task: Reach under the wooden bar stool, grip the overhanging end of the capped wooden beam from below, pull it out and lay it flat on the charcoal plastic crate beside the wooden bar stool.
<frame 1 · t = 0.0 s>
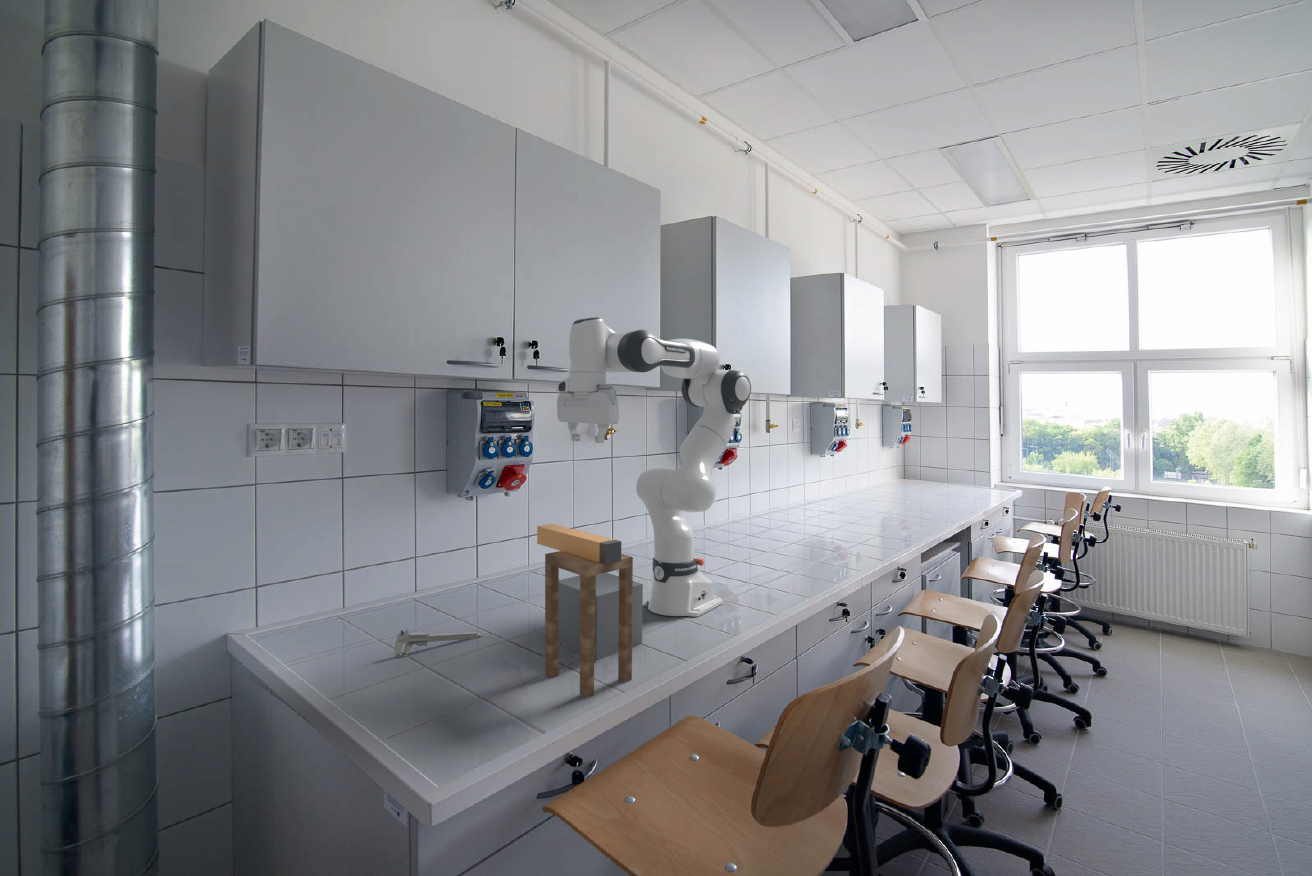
hand: (587, 442, 153), 48 cm above the lab bench, tool pointing down, fingers open, 8 cm apart
wooden bar stool: (588, 677, 133), on the lab bench
caliper: (440, 648, 149), on the lab bench
crate: (598, 641, 153), on the lab bench
capped wooden beam: (577, 551, 134), point 26 cm above the lab bench, touching wooden bar stool
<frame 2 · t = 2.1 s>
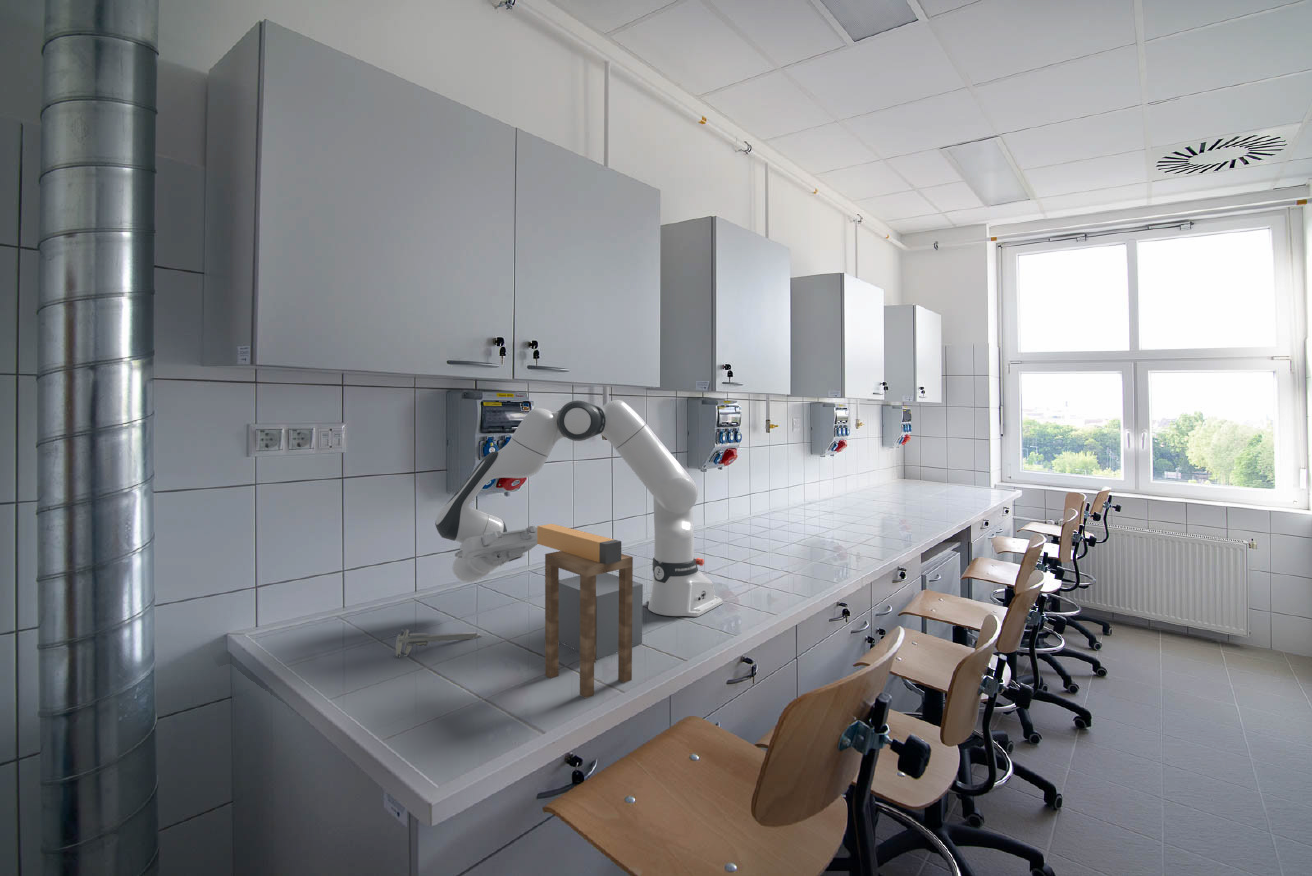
hand: (516, 531, 151), 27 cm above the lab bench, tool pointing upward, fingers open, 8 cm apart
nothing on the lab bench moved.
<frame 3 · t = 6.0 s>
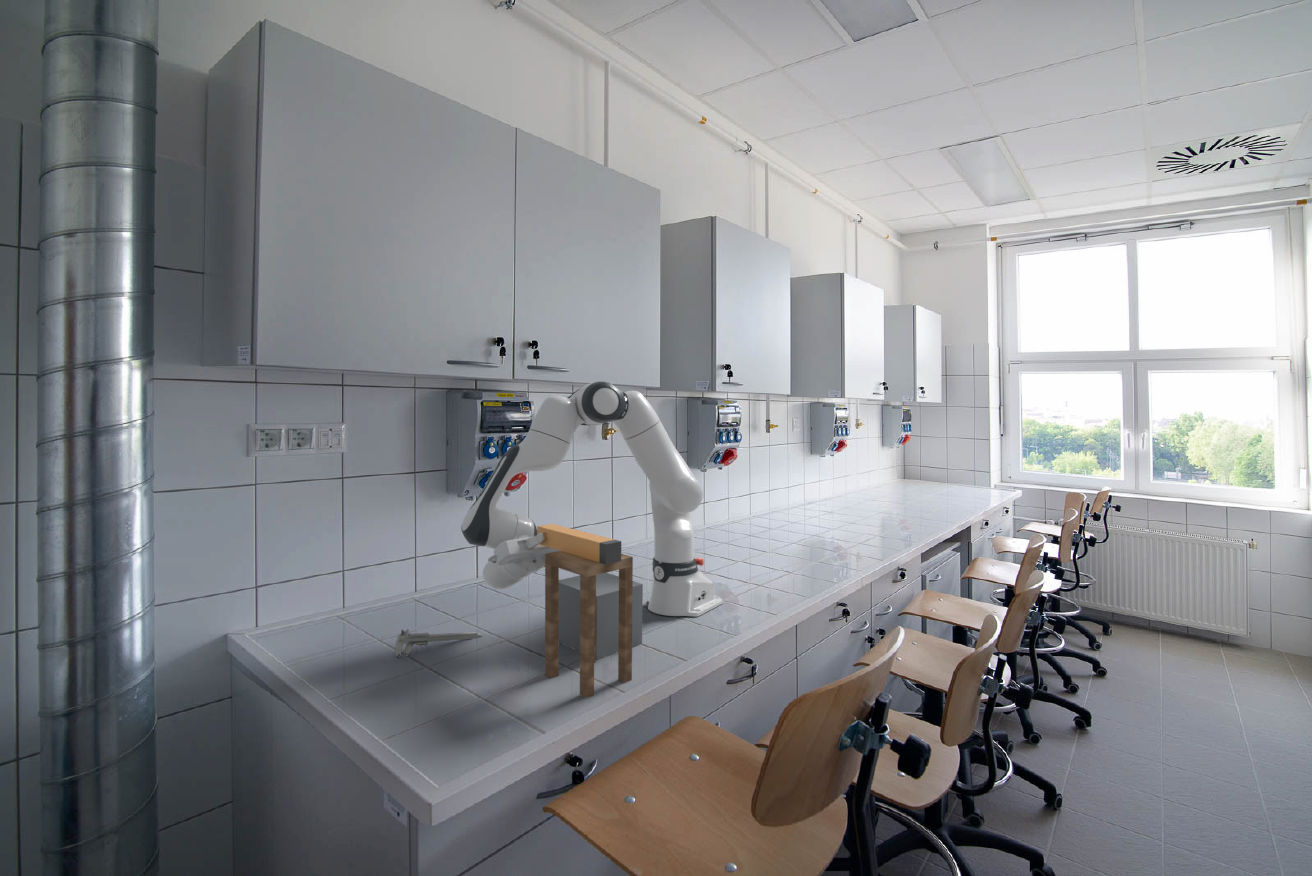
hand: (554, 534, 140), 28 cm above the lab bench, tool pointing upward, fingers closed on capped wooden beam, 4 cm apart
capped wooden beam: (577, 551, 134), point 26 cm above the lab bench, touching gripper, wooden bar stool
everything else where it was.
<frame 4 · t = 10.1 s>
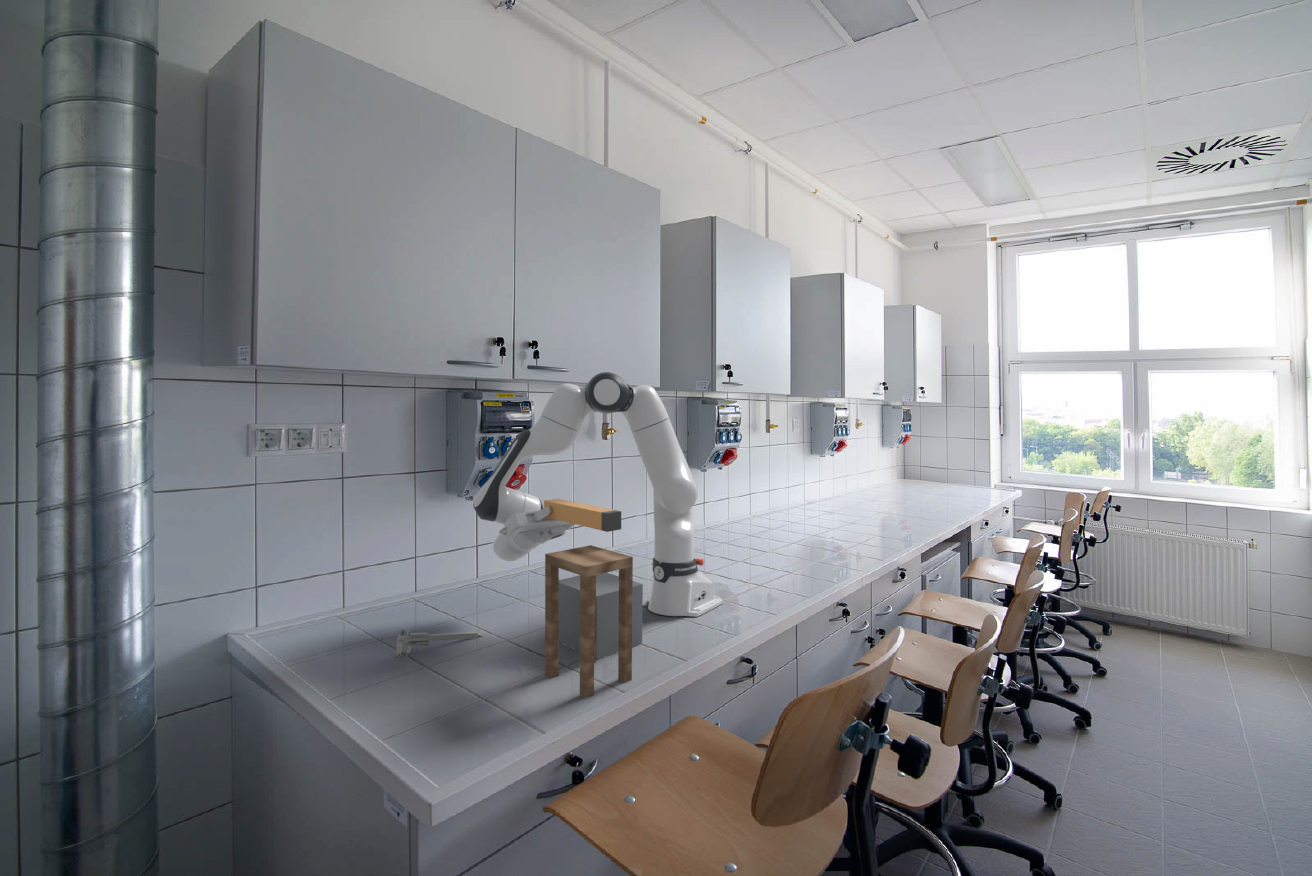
hand: (560, 507, 153), 32 cm above the lab bench, tool pointing upward, fingers closed on capped wooden beam, 4 cm apart
capped wooden beam: (580, 522, 147), point 30 cm above the lab bench, touching gripper
everything else where it was.
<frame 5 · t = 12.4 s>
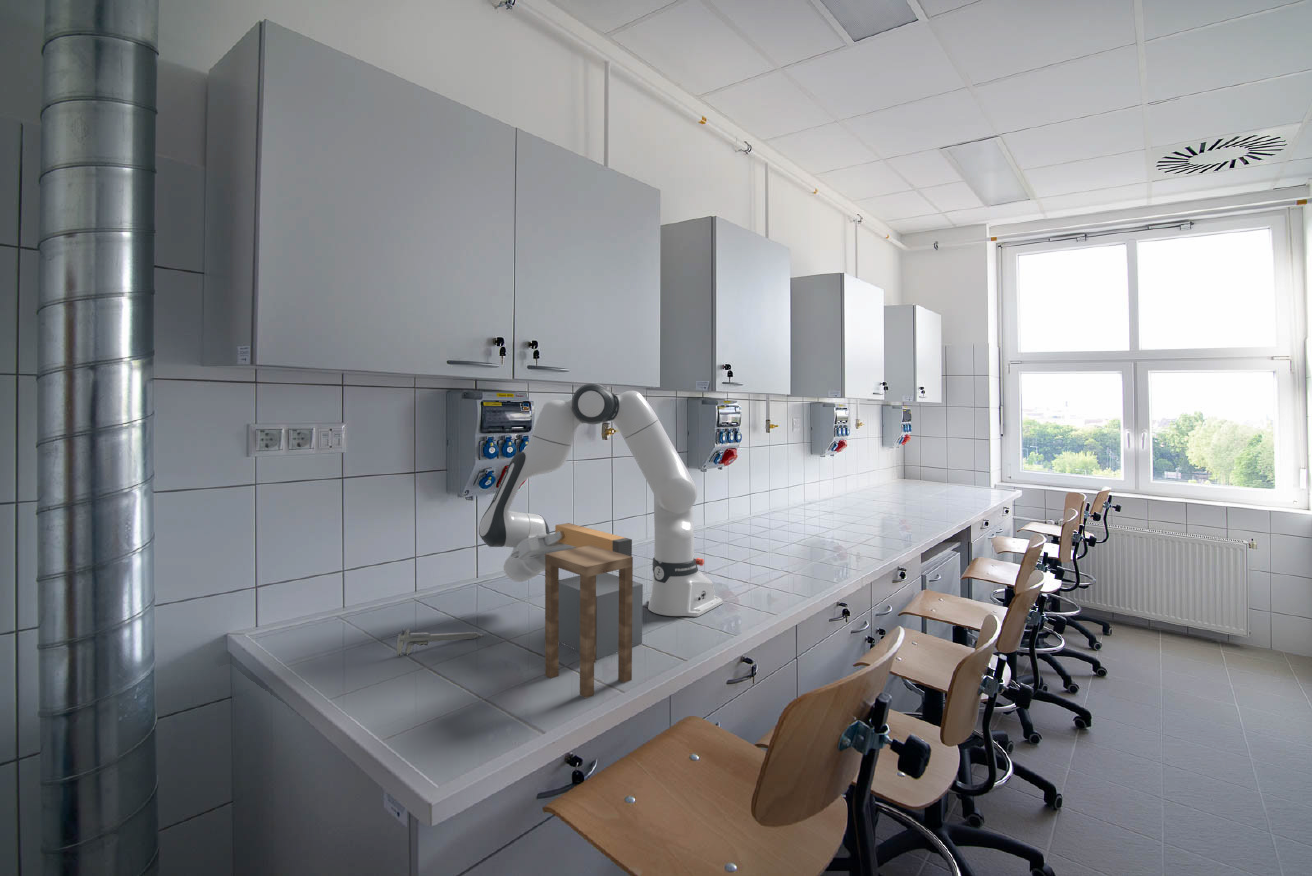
hand: (571, 532, 156), 26 cm above the lab bench, tool pointing upward, fingers closed on capped wooden beam, 4 cm apart
capped wooden beam: (591, 548, 150), point 23 cm above the lab bench, touching gripper
everything else where it was.
when the fingers open (18 cm above the lab bench, at t = 14.4 s): capped wooden beam drops 1 cm, resting on crate.
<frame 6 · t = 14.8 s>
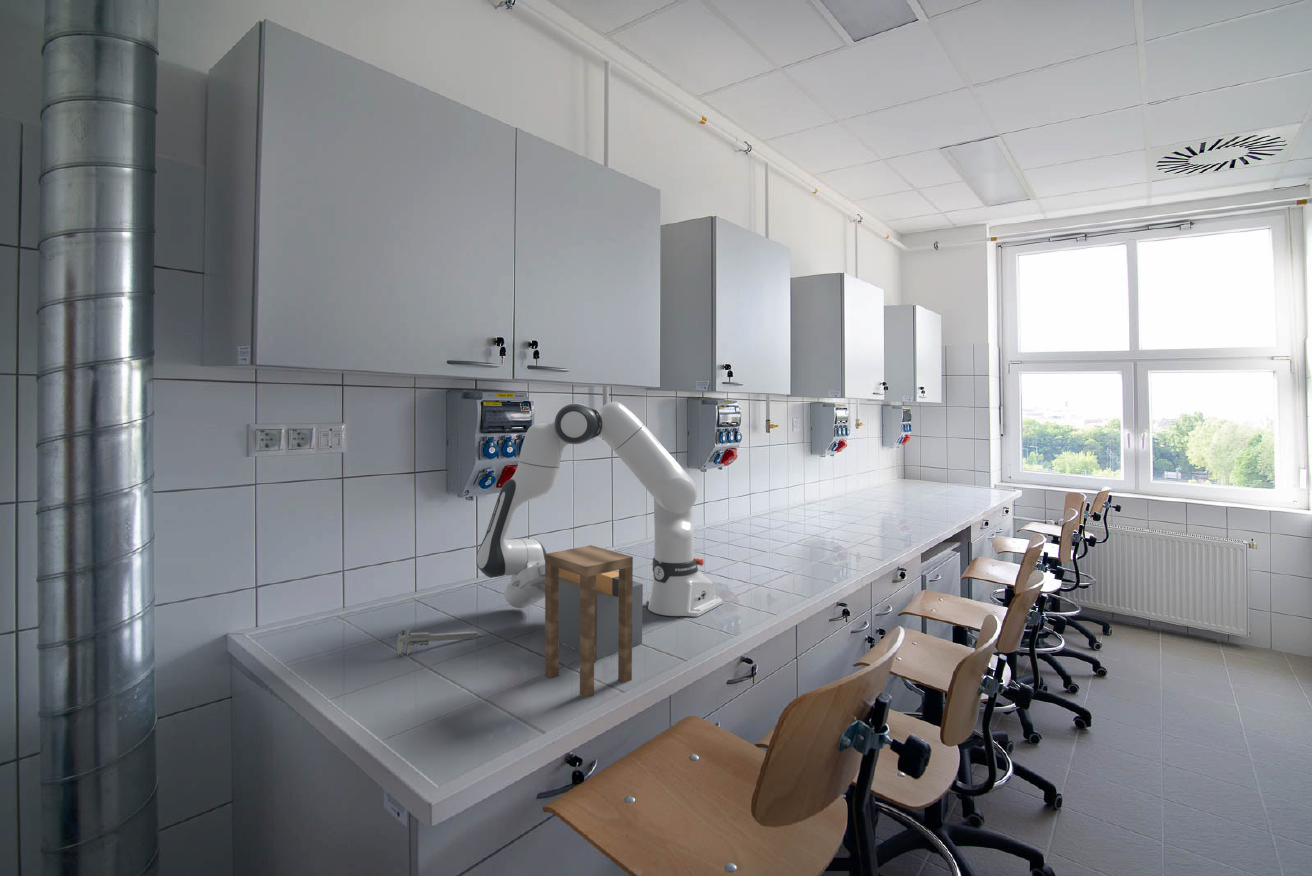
hand: (571, 561, 156), 18 cm above the lab bench, tool pointing upward, fingers open, 8 cm apart
capped wooden beam: (591, 584, 150), point 14 cm above the lab bench, touching crate
everything else where it was.
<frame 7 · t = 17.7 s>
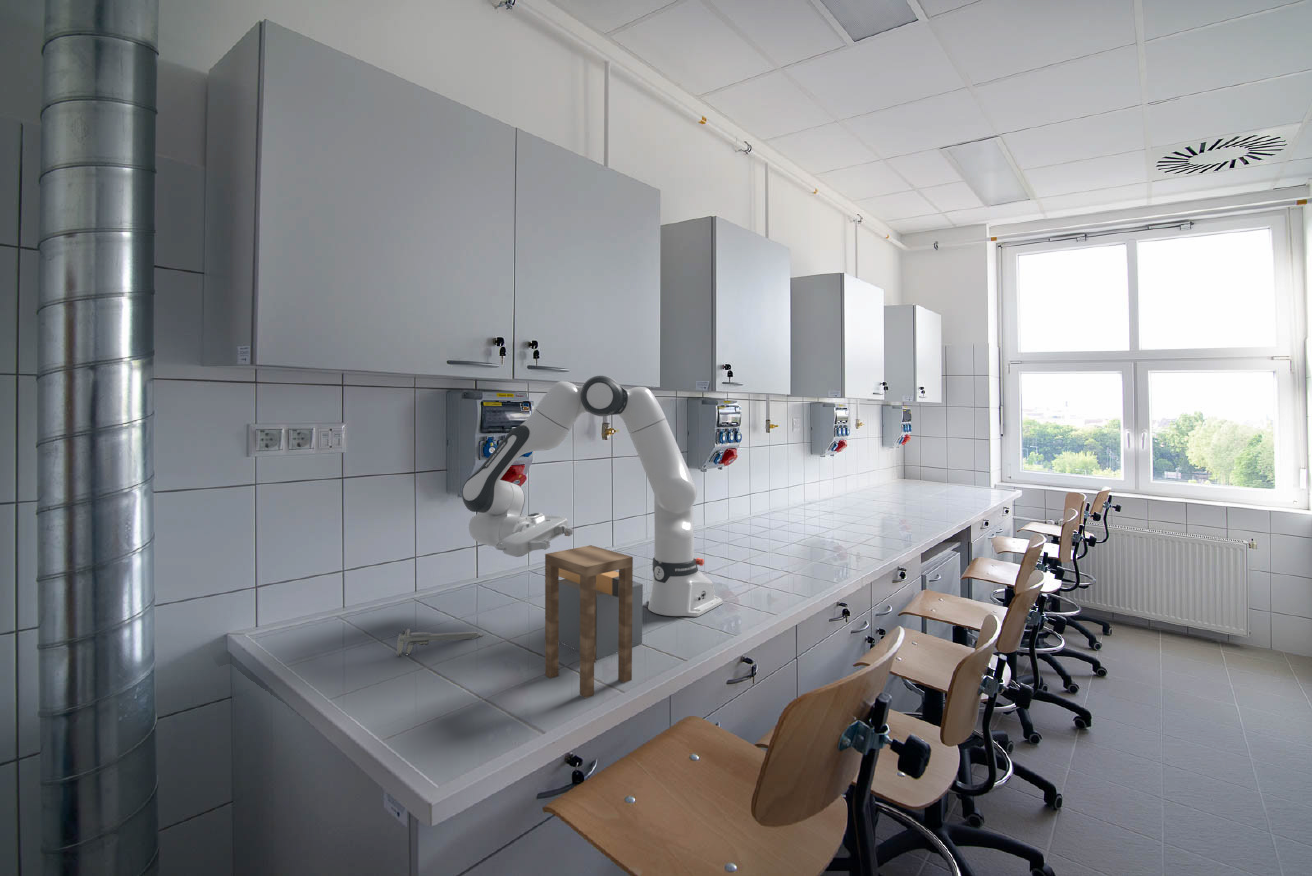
hand: (560, 538, 162), 23 cm above the lab bench, tool horizontal, fingers open, 8 cm apart
nothing on the lab bench moved.
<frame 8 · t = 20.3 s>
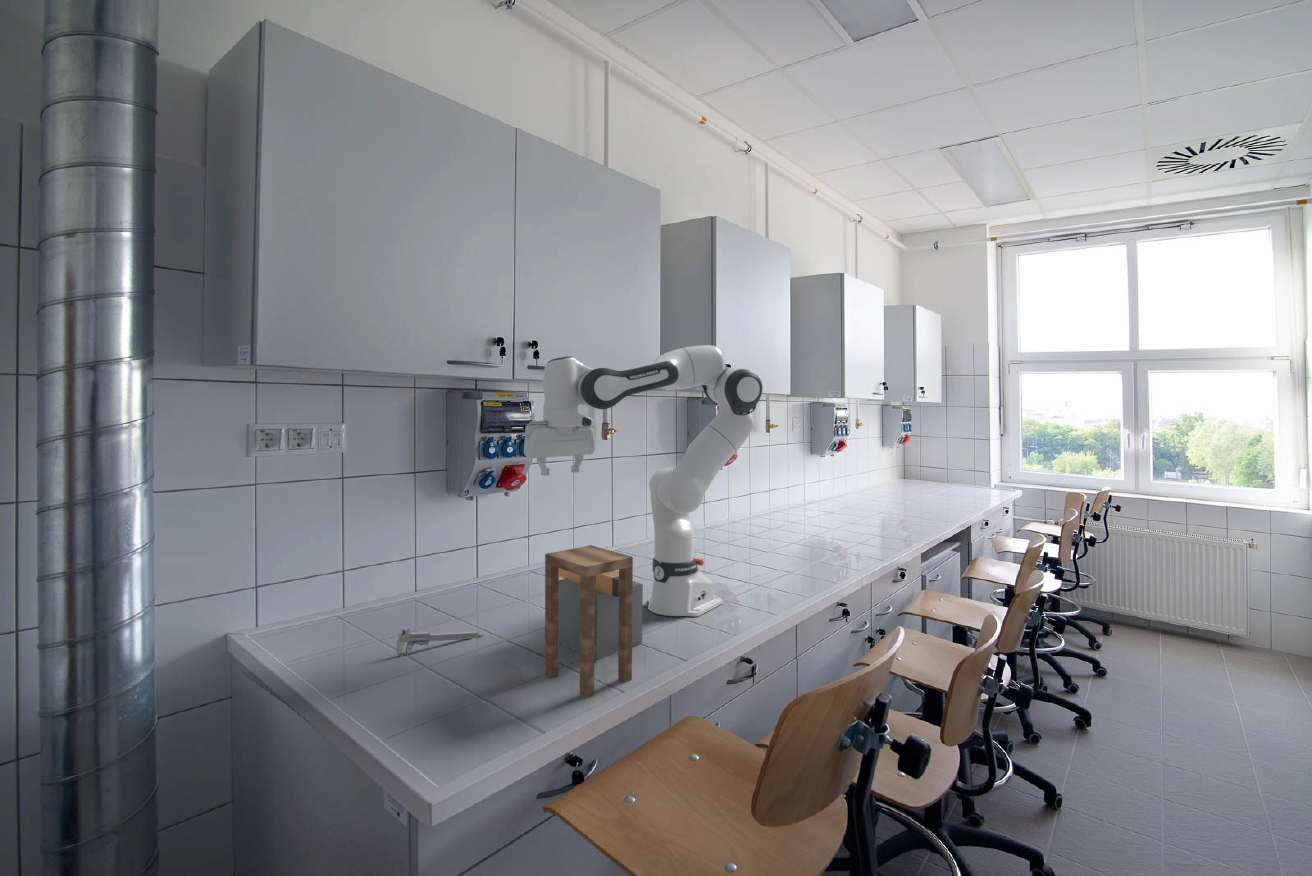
hand: (560, 473, 163), 39 cm above the lab bench, tool pointing down, fingers open, 8 cm apart
nothing on the lab bench moved.
at the end: capped wooden beam inside the target area on the crate (1.0 cm from its centre), point 14.5 cm above the crate's base; capped wooden beam touching crate; the gripper is holding nothing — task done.
